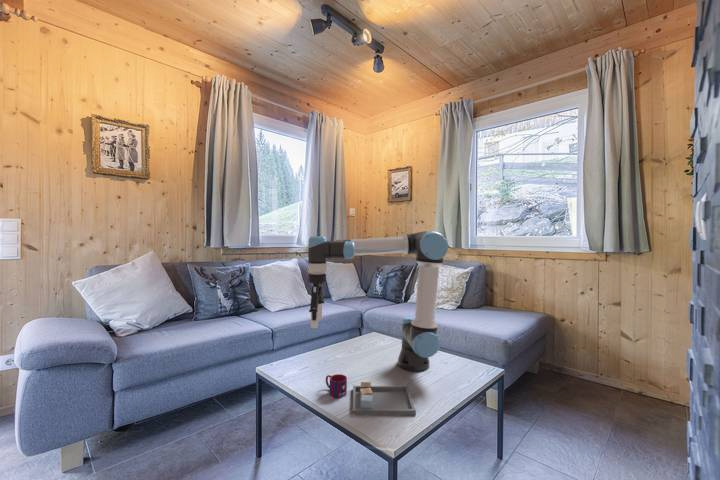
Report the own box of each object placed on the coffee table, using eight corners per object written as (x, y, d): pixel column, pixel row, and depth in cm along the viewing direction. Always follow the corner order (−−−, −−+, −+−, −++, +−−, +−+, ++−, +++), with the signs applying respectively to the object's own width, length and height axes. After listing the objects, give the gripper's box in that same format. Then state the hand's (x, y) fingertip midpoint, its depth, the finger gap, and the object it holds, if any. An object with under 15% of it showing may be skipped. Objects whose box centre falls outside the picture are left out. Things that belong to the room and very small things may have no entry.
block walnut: (370, 392, 130) (370, 382, 130) (371, 397, 126) (371, 387, 126) (360, 392, 130) (360, 382, 130) (360, 397, 126) (360, 386, 126)
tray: (407, 391, 132) (407, 385, 132) (415, 416, 114) (415, 410, 114) (353, 390, 132) (353, 385, 132) (352, 416, 114) (352, 410, 114)
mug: (336, 401, 124) (337, 383, 124) (321, 391, 131) (321, 374, 131) (350, 395, 129) (350, 378, 128) (334, 386, 136) (334, 370, 136)
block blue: (372, 406, 120) (372, 395, 120) (371, 412, 116) (371, 401, 116) (361, 405, 120) (362, 394, 120) (360, 411, 116) (360, 400, 116)
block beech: (370, 398, 125) (370, 387, 125) (372, 403, 122) (372, 393, 121) (360, 399, 125) (360, 388, 125) (362, 404, 121) (362, 393, 121)
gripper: (313, 269, 151) (312, 315, 151) (302, 277, 126) (302, 332, 126) (329, 269, 150) (329, 315, 151) (322, 277, 126) (321, 332, 126)
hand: (316, 323), depth 139 cm, fingers open, 13 cm apart
